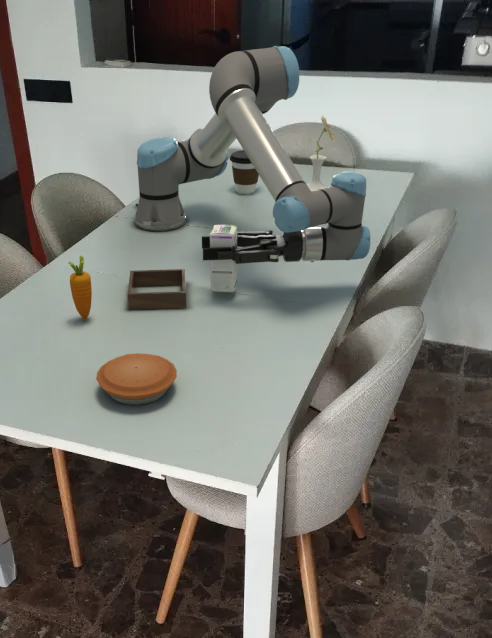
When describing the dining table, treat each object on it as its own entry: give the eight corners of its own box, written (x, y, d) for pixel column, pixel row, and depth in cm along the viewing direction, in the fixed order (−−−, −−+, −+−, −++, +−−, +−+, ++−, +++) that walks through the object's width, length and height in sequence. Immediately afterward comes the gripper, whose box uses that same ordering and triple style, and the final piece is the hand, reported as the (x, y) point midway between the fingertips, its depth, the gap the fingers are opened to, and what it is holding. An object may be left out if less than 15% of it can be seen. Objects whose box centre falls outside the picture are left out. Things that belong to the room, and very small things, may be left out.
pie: (94, 413, 131) (92, 390, 128) (101, 370, 143) (99, 348, 140) (177, 411, 131) (176, 388, 128) (176, 367, 143) (176, 346, 140)
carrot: (78, 326, 159) (70, 264, 150) (71, 317, 163) (62, 256, 154) (99, 321, 161) (92, 259, 152) (91, 312, 165) (84, 251, 156)
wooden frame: (131, 285, 176) (130, 270, 174) (185, 283, 176) (185, 268, 174) (128, 310, 165) (127, 294, 163) (186, 308, 165) (185, 292, 163)
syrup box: (234, 292, 166) (235, 233, 158) (209, 291, 168) (209, 232, 159) (237, 282, 171) (238, 224, 162) (213, 281, 172) (213, 223, 164)
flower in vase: (328, 209, 217) (337, 123, 202) (292, 206, 220) (298, 121, 206) (336, 196, 227) (344, 113, 212) (301, 193, 230) (307, 111, 216)
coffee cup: (223, 189, 236) (223, 152, 229) (251, 184, 239) (252, 147, 232) (239, 198, 228) (240, 160, 221) (268, 193, 231) (270, 155, 224)
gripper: (306, 277, 157) (204, 280, 158) (294, 244, 173) (201, 247, 174) (309, 245, 153) (203, 248, 153) (296, 214, 169) (200, 218, 169)
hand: (202, 248), depth 164 cm, fingers closed on syrup box, 6 cm apart
